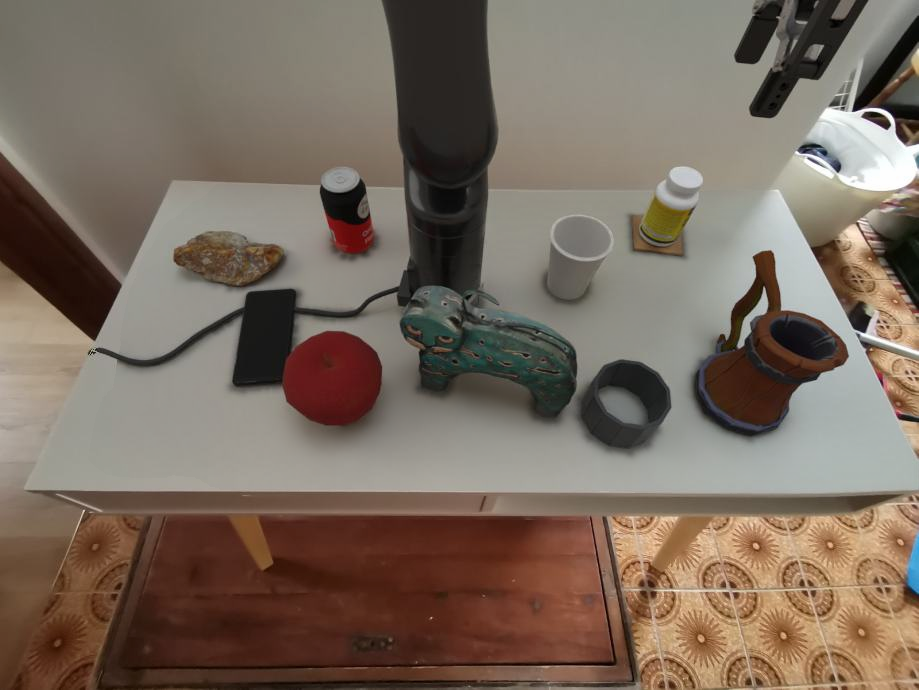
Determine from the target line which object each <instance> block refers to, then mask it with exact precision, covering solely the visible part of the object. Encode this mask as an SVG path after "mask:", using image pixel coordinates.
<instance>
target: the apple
mask: <svg viewBox="0 0 919 690" xmlns="http://www.w3.org/2000/svg"><path fill="white" fill-rule="evenodd" d="M382 384H383V365H382V362H381V360H380V357H379V354H378V352H377V351H376V349H374V348H373V347H372V346H371V345H370V344H369V343H367V342H366V341H365V340H363V339H362V338H361V337H360V336H357V335H356V334H355V335H354V334H353V333H349V332H347V331H344V330H343V331H342V330H325V331H322V332H320V333H316V334H314V335H312V336H310V337H308V338H307V339H305V340H303V341H302V342H300V343H299V344H298V345H296V347H294V349H293V350H291V352H290V355H289V356H288V357H287V359H286V363H285V368H284V374H283V382H281V385H282V389H283V393H284V396H285V397H284V398H285V400H286V403H287V404H288V405H290V406H291V407H292V408H293V409H294V410H295V411H297V412H298V413H299V414H300V415H302V416H303V417H305V418H306V419H307V420H309V421H311V422H314V423H317V424H320V425H323V426H327V427H328V426H329V427H345V426H349V425H352V424H355V423H358V422H359V421H360V420H361V419H362V418H363V417H365V416H366V415H368V413H369V412H371V411H372V409H373V407H374V406H375V404H376V402H377V400H378V398H379V397H380V396H379V395H380V394H381V390H382V389H381V388H382Z"/></svg>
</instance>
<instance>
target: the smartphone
mask: <svg viewBox="0 0 919 690" xmlns="http://www.w3.org/2000/svg"><path fill="white" fill-rule="evenodd" d="M296 300H297V291H296V290H295V289H294V288H280V289H267V290H266V289H265V290H253V291H248V292H247V293H246V295H245V301H244V306H243V307H244V312H243V313H242V318H241V325H240V331H239V336H238V337H239V338H238V344H237V347H236V355H235V361H234V367H233V373H232V379H231V380H232V381H231V382H232V385H234V386H236V387H242V386H243V387H244V386H255V385H269V384H278V383H279V384H280V383H281V384H282V383H283V374H284V368H285V363H286V359H287V357H288V356H289V355H290V354H291V352H292V350H291V349H292V339H293V330H294V319H295V312H294V307H296Z"/></svg>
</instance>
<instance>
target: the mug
mask: <svg viewBox="0 0 919 690" xmlns="http://www.w3.org/2000/svg"><path fill="white" fill-rule="evenodd" d="M752 260H753V262H754V266H755V278H754V279H753V282H752V284H751V286H750V287H749V288H748V290H747V292H746V293H745V294H744V295H743V296H741V298H740V299H738V301H737V302H735V304H734V305H733V307H732V309H731V312H730V331H729V335H728V337H726V335H725V334H724V333H720V334H719V336H718V338H717V342H716V346H715V353H711V354H709V355H708V356H707V357H706V359H705V360H704V362H703V363H702V364H701V366H700V367H699V368H698V370H697V371H696V373H695V394H696V397H697V399H698V401H699V403H700V404H701V407H702V410H703V411H704V413H705V415H707V416H708V417H710V419H712V420H713V421H715V422H716V423H717V424H719V425H721V426H722V427H723V428H725V429H727V430H731V431H733V432H737V433H740V434H741V435H742V434H743V435H744V436H745V435H746V436H749V437H753V436H756V435H760V434H763V433H767V432H770V431H774V430H777V429H778V428H779V427H780V425H781V423H782V422H783V421H784V419H786V417H787V415H788V414H789V412H790V401H791V398H792V396H793V394H794V393H795V392H796V391H797V390H798V388H799V387H800V386H801V385H804V384H805V383H810V382H814V381H817V380H818V379H819V377H820V376H821V374H824V373H827V372H832V371H834V370H835V369H836V368H839V367H842V366H845V364H846V362H847V360H848V359H849V357H850V354H849V350H848V348H847V344H846V342H844V340H843V339H842V337H841V336H839V335H838V334H837V333H836V332H835V331H834V330H833V329H832V328H831V327H829V326H828V325H827V324H826V323H825V322H823V320H820V319H818V318H817V317H813V316H811V315H809V314H806V313H804V312H800V311H799V312H798V311H793V310H790V309H789V310H788V309H787V310H786V309H785V310H784V309H783V310H782V299H781V298H782V296H781V295H782V294H781V290H780V289H781V288H780V285H779V282H778V278H777V272H776V271H777V270H776V257H775V253H774V251H772V249H771V250H770V249H769V250H761V251H759V252H757V253H755V254H754V255H753V256H752ZM764 291H765V294H766V298H767V299H766V300H767V309H766V312H765V313H764V314H760V315H756V316H754V317H753V318H752V319H751V320H750V322H749V326H750V333H749V334H747V336H746V337H745V339H744V344H743V346H741V347H739V346H738V344H739V341H740V339H741V334H742V330H743V325H744V321H745V319H746V317H748V316H749V315H750V314H751V313H752V311H753V310H755V308H756V307H757V306H758V305H759V303H760V301H761V299H762V297H763V294H764Z"/></svg>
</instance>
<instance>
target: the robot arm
mask: <svg viewBox="0 0 919 690" xmlns="http://www.w3.org/2000/svg"><path fill="white" fill-rule="evenodd" d="M380 1H381V5H382V8H383V12H384V17H385V21H386V25H387V31H388V37H389V41H390V48H391V56H392V63H393V64H392V65H393V73H394V83H395V84H394V85H395V97H396V110H397V111H396V112H397V113H396V114H397V118H396V119H397V123H396V124H397V125H396V129H397V130H396V131H397V133H396V134H397V142H398V145H399V149H400V152H401V156H402V166H403V167H402V169H403V170H402V171H403V189H404V190H403V191H404V192H403V193H404V203H405V212H406V213H405V214H406V223H407V225H406V226H407V234H408V245H409V258H408V262H407V265H406V269H403V270H402V275H401V279H400V283H399V285H397V286H394V287H391V288H387V289H385V290H382V291H379V292H377V293H374V294H373V295H371V296H369V297H368V298H366V299H365V300H364V302H362V304H360V305H359V307H357V308H356V309H352V310H349V311H330V310H323V309H315V308H308V307H307V308H306V307H299V306H295V307H294V313H300V314H307V315H308V314H310V315H318V316H323V317H330V318H349V317H353V316H357V315H359V314H361V313H362V312H363V311H364V310H365V309H366V308H367V307H368V306H369V305H370V304H371V303H372V302H374V301H376V300H378V299H381V298H383V297H386V296H389V295H392V294H396V300H397V306H398V307H404V308H406V306H407V305H408V303H409V301H410V300H411V298H412V297H413V295H414V294H415V292H416V291H417V290H418V289H419V288H421V287H424V286H442V287H445V288H449V289H451V290H453V291H455V292H456V293H458V294H459V295H460V296H462V297H463V295H464V293H465V292H466V291H468V290H480V291H483V290H484V282H482V283H481V280H482V269H483V259H484V248H485V236H486V227H487V215H488V203H489V166H490V164H491V162H492V161H493V158H494V156H495V153H496V150H497V146H498V142H499V132H500V131H499V122H498V115H497V109H496V103H495V98H494V91H493V86H492V77H491V66H490V65H491V64H490V54H489V37H488V13H489V12H488V11H489V10H488V9H489V0H380ZM869 1H870V0H755V1H754V2H753V5H752V7H751V15H752V16H751V18H750V20H749V22H748V25H747V27H746V28H745V31H744V32H743V35H742V36H741V39H740V41H739V44H738V46H737V48H736V49H735V52H734V54H733V57H734V61H735V62H736V63H737V64H746V65H755V64H757V63H759V62H760V61H761V59H762V57H763V55H764V53H765V51H766V49H767V47H768V45H769V43H770V42H771V40H772V38H773V36H774V34H775V36H776V38H777V39H778V40H779V45H778V47H777V50H776V53H775V58H774V61H773V64H772V67H770V68H769V70H768V72H767V74H766V76H765V77H764V80H763V81H762V83H761V85H760V87H759V89H758V90H757V92H756V93H755V96H754V97H753V99H752V101H751V103H750V104H749V106H748V110H749V114H750V116H751V117H753V118H762V119H763V118H764V119H773V118H775V117H776V116H778V114H780V112H781V110H782V108H783V107H784V105H785V102H787V100H788V98H789V97H790V95H791V94H792V92H793V90H794V88H795V87H796V85H797V84H798V82H799V81H800V79H804V80H811V81H819V80H820V79H821V78H822V77H823V75H824V73H825V72H826V71H827V69H828V67H829V66H830V64H831V62H832V60H833V59H834V57H835V56H836V54H837V53H838V51H839V50H840V48H841V47H842V45H843V43H844V42H845V39H847V36H848V35H849V33H850V32H851V30H852V28H853V27H854V25H855V23H856V21H857V20H858V19H859V17H860V15H861V13H862V12H863V11H864V8H865V7H866V6H867V4H868V2H869ZM798 22H806V24H805V23H798ZM795 41H796V42H795ZM794 42H795V44H794ZM793 44H794V46H793ZM821 46H822V49H821V50H820V47H821ZM819 50H820V51H819ZM480 297H481V296H479V295H476V294H471V295H467V296H465V299H466V300H467V301H468V302H469V303H470V304H471V305H472V306H474V307H476V308H479V306H480ZM243 312H244V306H242V307H240V308H237V309H235V310H234V311H232V312H230V313H228V314H226V315H224V316H223V317H221V318H220V319H218V320H217V321H214V322H213V323H211V324H209V325H207V326H206V327H204V328H202V329H201V330H199V331H198V332H196V333H194V334H193V335H191V336H190V337H189V338H187V339H186V340H185V341H184V342H182V343H181V344H180V345H178V346H177V347H176V348H174V349H173V350H171V351H169V352H168V353H166V354H164V355H161V356H158V357H155V358H151V359H137V358H131V357H128V356H124V355H122V354H120V353H117V352H115V351H113V350H110V349H107V348H104V347H98V346H97V347H98V348H96V347H95V348H96V349H95V351H97V352H99V353H98V354H102V355H105V356H107V357H109V358H110V357H111V358H113V359H115V360H118V361H120V362H123V363H126V364H129V365H133V366H145V367H147V366H154V365H157V364H160V363H164V362H166V361H168V360H170V359H172V358H174V357H176V356H177V355H178V354H180V353H181V352H182V351H184V350H185V349H187V348H188V347H189V346H190V345H192V344H193V343H194V342H196V341H197V340H198V339H200V338H201V337H203V336H204V335H207V334H208V333H209V332H211V331H213V330H215V329H217V328H219V327H221V326H222V325H223V324H225V323H227V322H229V321H230V320H232V319H233V318H235V317H237V316H239V315H241V314H243ZM93 348H94V347H93ZM93 348H90V349H89V350H88V352H87V355H88V356H93V355H95V354H97V353H96V352H93V351H92V352H91V350H92V349H93ZM93 350H94V349H93ZM90 352H91V354H92V353H93V355H91V354H90ZM89 354H90V355H89Z"/></svg>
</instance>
